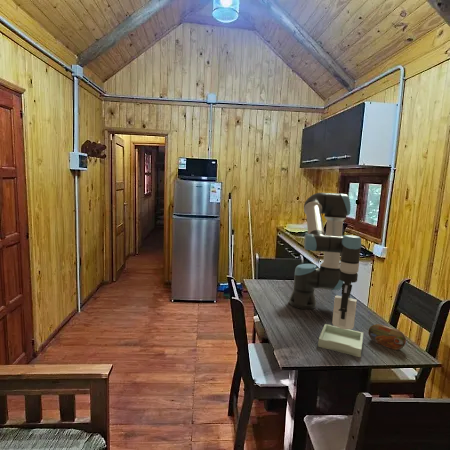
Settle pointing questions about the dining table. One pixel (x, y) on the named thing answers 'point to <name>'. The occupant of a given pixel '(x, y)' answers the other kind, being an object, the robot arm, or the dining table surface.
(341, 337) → the bin
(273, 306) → the dining table surface
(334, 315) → the base with upright slab
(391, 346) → the tin
